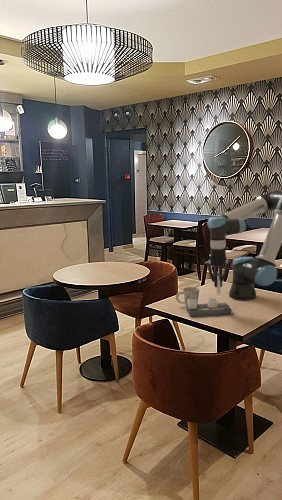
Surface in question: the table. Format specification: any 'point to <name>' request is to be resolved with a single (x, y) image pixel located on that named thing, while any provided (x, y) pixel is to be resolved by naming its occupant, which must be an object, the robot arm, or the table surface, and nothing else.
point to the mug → (189, 294)
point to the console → (209, 310)
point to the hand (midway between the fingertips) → (218, 292)
